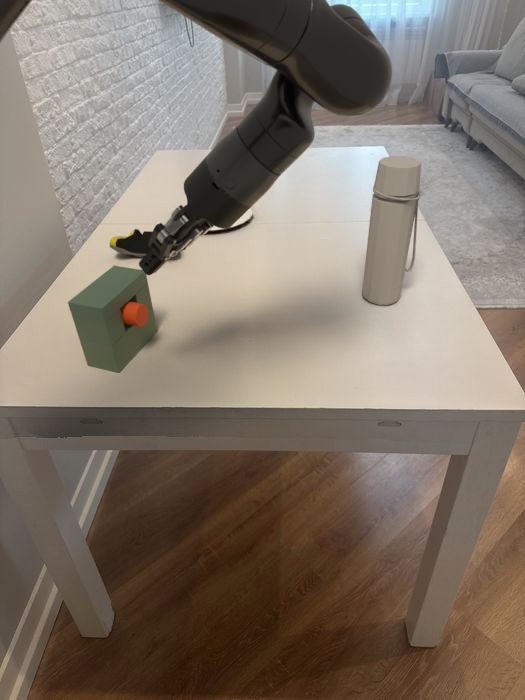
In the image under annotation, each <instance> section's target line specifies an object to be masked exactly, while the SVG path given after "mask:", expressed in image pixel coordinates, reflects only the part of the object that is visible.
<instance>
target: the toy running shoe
mask: <svg viewBox="0 0 525 700" xmlns="http://www.w3.org/2000/svg"><path fill="white" fill-rule="evenodd" d="M152 232H153V231H149V230H147V231H146V230H145V231H144V230H143V232H141V231H140V229H139V228H134V229H132V230H131V232H130V233H129V234H128V236H122V235H117V236H113V237H112V238H110V240H109V248H111V249H112V250H113V251H115V252H117V253H119V254H122V255H126V256H135V257H136V258H139V259H143V257H144V256H145V255H146V254H147V253H148V252H149V251H150V250H151V248H150V247H149V246H148V243H149V241H150V238H151V235H152Z"/></svg>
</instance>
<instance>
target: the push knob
mask: <svg viewBox="0 0 525 700" xmlns="http://www.w3.org/2000/svg"><path fill="white" fill-rule="evenodd" d="M120 311H121V315H122V319H123V323H124V324H129V325H134V326H139V327H142V326H143V325H144V324H145V323H146V321H147V319H148V308H147V306H146V305H145V304H141V303H136V302H130V301H128V302H127V303H125V304H124V305H123V306H122V307H121V308H120Z"/></svg>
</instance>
